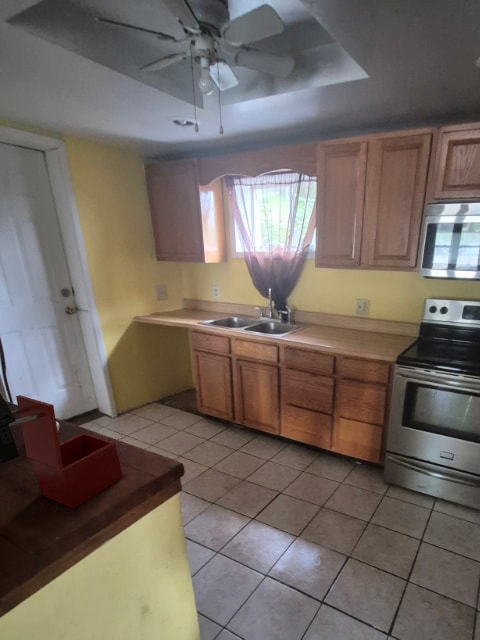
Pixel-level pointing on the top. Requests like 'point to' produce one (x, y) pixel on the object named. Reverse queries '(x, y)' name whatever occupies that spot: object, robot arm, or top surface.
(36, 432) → the hatch
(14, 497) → the top surface
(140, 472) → the top surface
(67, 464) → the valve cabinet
